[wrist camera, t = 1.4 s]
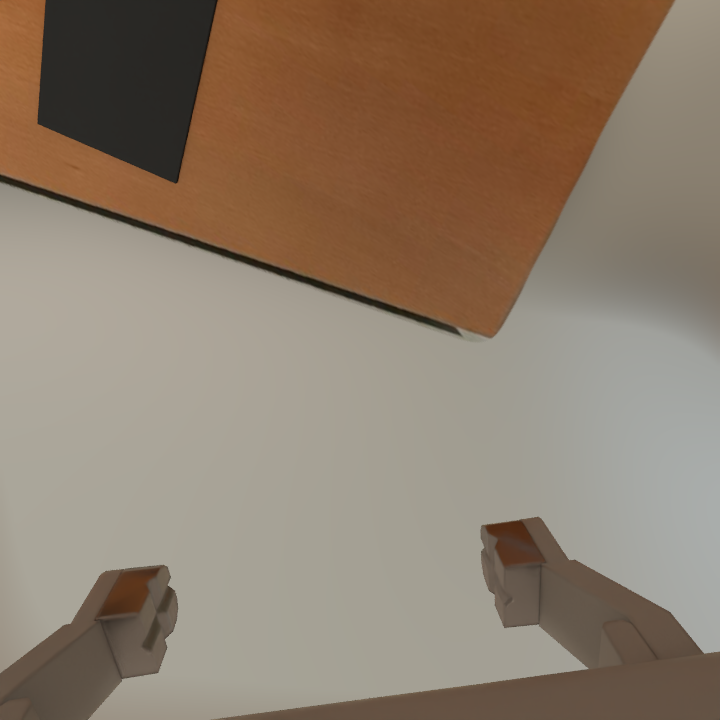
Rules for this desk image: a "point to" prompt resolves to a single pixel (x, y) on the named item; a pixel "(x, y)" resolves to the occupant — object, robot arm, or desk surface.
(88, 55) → the desk mat
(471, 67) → the desk surface
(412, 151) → the desk surface
